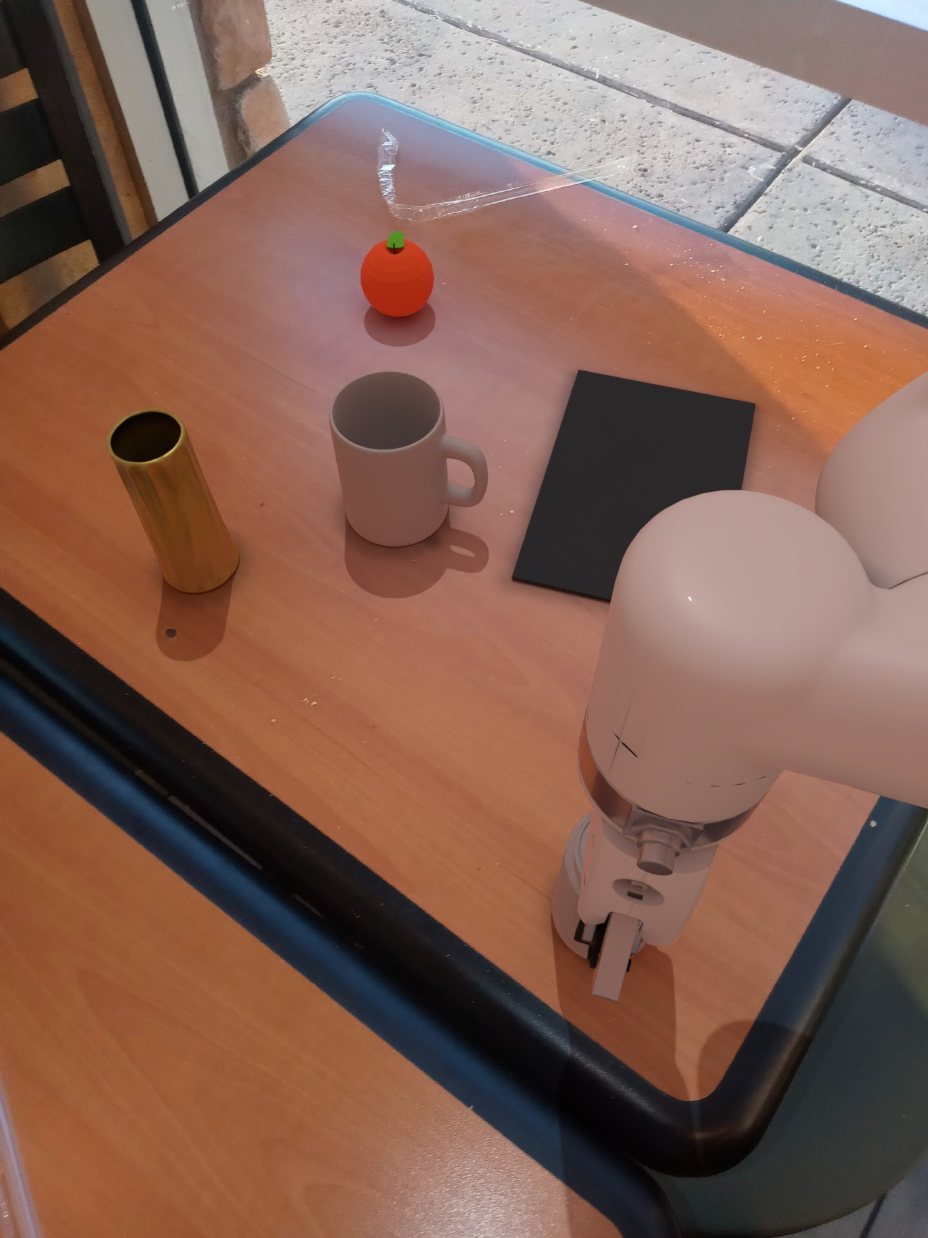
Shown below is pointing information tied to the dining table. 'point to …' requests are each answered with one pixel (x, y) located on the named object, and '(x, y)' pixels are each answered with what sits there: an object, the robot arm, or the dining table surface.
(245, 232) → the dining table surface
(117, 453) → the vase
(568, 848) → the beverage can
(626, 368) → the dining table surface
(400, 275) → the clementine
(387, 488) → the mug
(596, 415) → the mat
